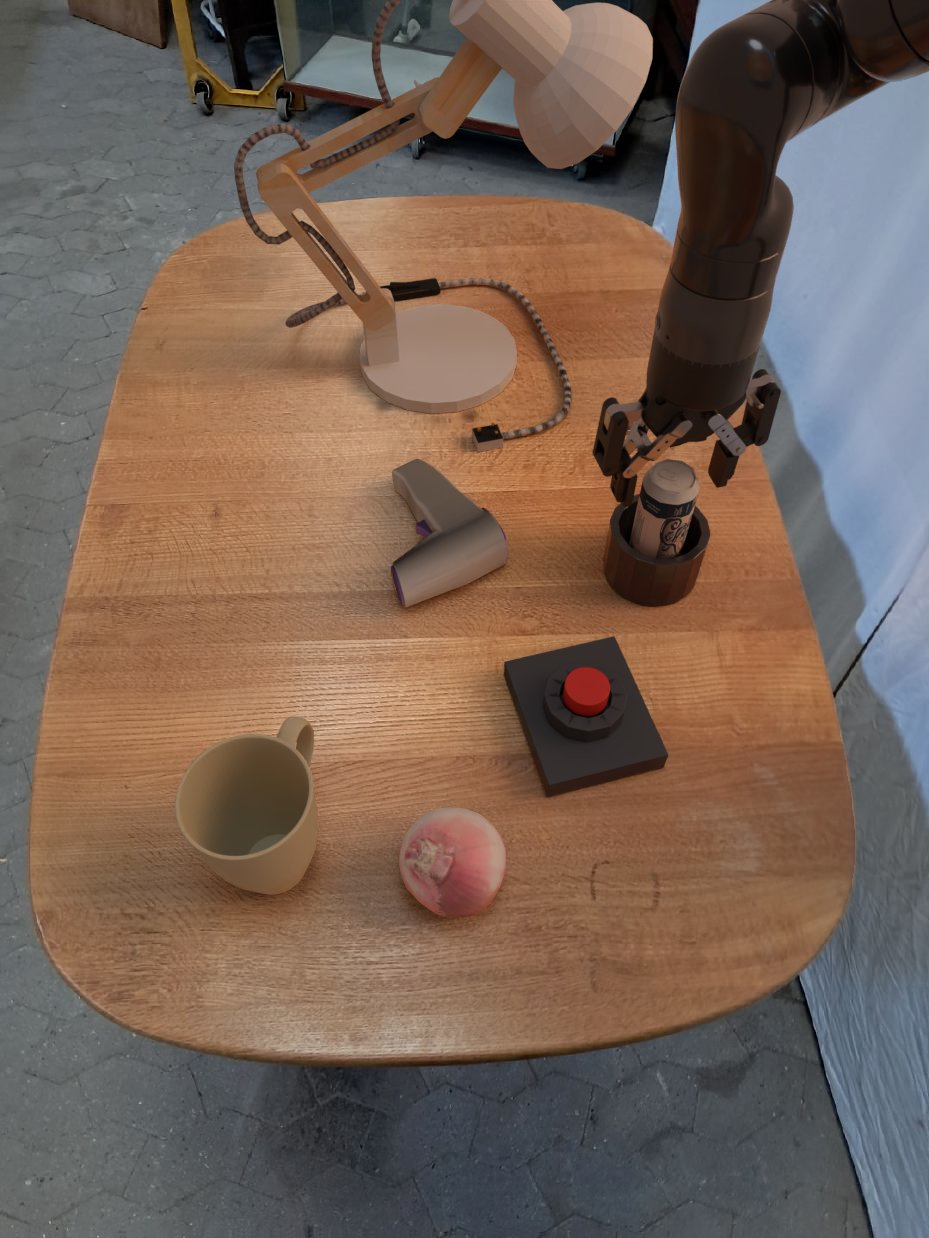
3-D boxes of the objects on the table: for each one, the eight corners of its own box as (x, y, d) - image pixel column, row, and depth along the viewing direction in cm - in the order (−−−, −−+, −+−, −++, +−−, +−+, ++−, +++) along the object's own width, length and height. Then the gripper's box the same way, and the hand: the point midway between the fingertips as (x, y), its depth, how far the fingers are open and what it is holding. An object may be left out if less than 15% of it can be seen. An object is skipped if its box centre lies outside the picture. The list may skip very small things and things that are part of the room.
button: (614, 710, 73) (616, 699, 71) (571, 721, 72) (573, 709, 71) (598, 674, 75) (600, 662, 73) (556, 684, 74) (558, 672, 73)
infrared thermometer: (430, 480, 94) (516, 565, 86) (328, 530, 90) (408, 623, 82) (426, 446, 91) (516, 530, 83) (320, 496, 87) (403, 590, 79)
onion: (381, 865, 69) (373, 827, 63) (462, 807, 71) (461, 765, 66) (445, 950, 65) (442, 917, 59) (527, 886, 68) (533, 848, 62)
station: (664, 767, 73) (672, 743, 70) (546, 797, 72) (550, 774, 69) (611, 650, 80) (617, 623, 77) (503, 675, 79) (504, 649, 76)
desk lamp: (646, 421, 98) (730, -1, 66) (298, 484, 93) (206, 58, 61) (559, 265, 116) (593, -128, 84) (264, 310, 111) (178, -91, 78)
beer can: (664, 594, 83) (689, 503, 74) (616, 575, 85) (635, 483, 75) (683, 559, 86) (710, 467, 76) (637, 541, 87) (657, 448, 78)
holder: (715, 569, 86) (729, 526, 81) (657, 623, 82) (669, 581, 77) (641, 521, 90) (651, 477, 85) (583, 570, 86) (590, 527, 81)
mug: (360, 894, 67) (342, 828, 58) (228, 940, 65) (186, 879, 56) (324, 769, 74) (302, 690, 64) (202, 808, 72) (160, 732, 62)
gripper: (634, 378, 61) (607, 539, 74) (826, 342, 63) (766, 504, 76) (596, 314, 65) (576, 476, 78) (776, 282, 68) (728, 445, 81)
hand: (670, 490), depth 77 cm, fingers open, 8 cm apart
